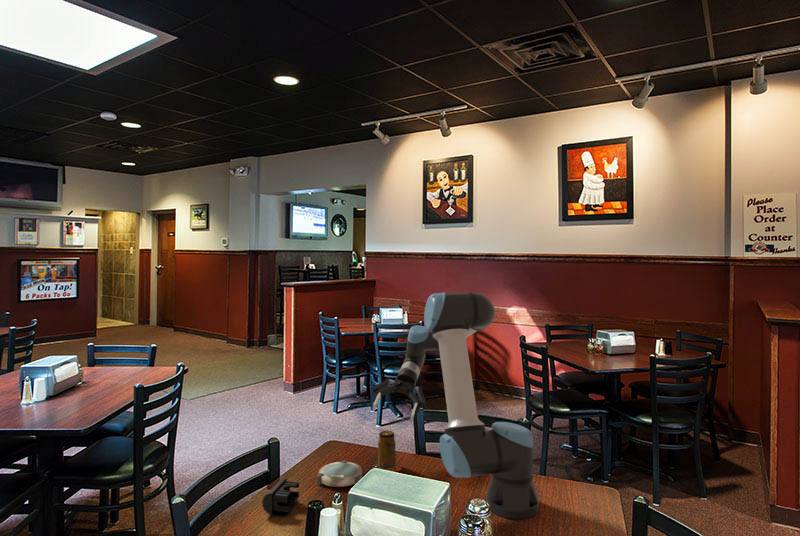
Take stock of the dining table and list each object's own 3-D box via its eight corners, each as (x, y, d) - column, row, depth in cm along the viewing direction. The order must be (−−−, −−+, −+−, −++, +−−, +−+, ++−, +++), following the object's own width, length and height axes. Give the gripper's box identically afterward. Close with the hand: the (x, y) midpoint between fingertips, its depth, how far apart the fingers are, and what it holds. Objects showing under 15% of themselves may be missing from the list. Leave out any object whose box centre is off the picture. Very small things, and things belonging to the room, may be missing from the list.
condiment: (388, 461, 168) (388, 428, 168) (403, 469, 161) (403, 434, 161) (372, 467, 163) (372, 432, 163) (387, 475, 156) (387, 439, 156)
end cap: (277, 499, 141) (277, 476, 141) (299, 501, 140) (299, 478, 139) (261, 516, 131) (261, 492, 131) (285, 518, 130) (285, 494, 130)
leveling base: (364, 468, 161) (364, 458, 161) (359, 489, 146) (359, 477, 146) (324, 468, 162) (324, 457, 162) (314, 488, 147) (314, 476, 147)
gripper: (438, 392, 179) (426, 431, 160) (376, 375, 184) (357, 411, 165) (441, 376, 175) (429, 414, 157) (378, 360, 180) (359, 394, 162)
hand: (392, 412), depth 161 cm, fingers open, 13 cm apart
